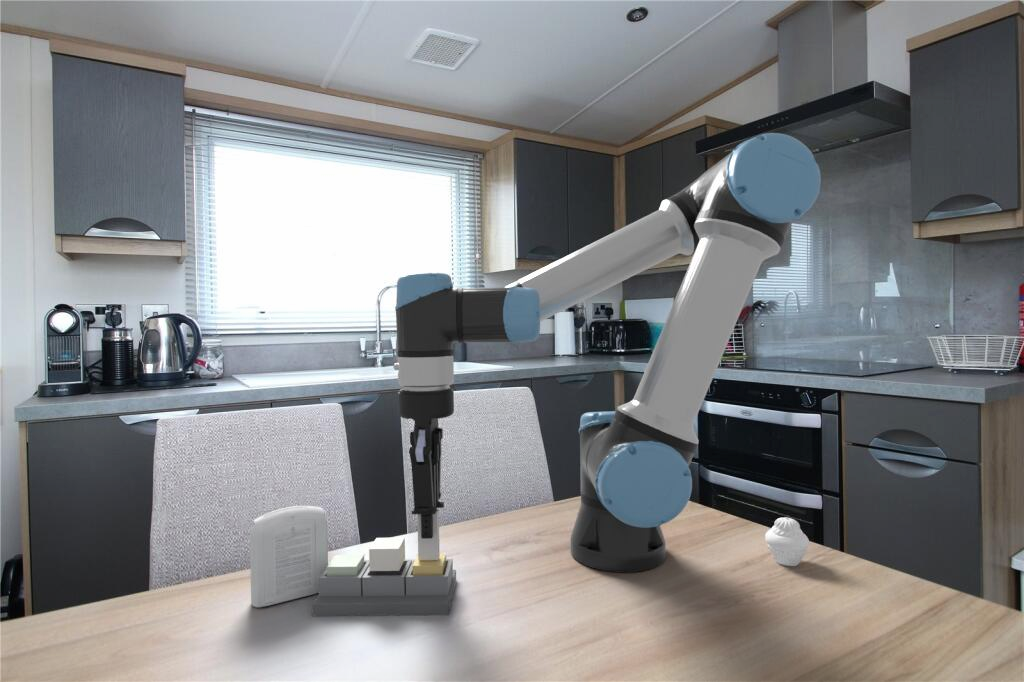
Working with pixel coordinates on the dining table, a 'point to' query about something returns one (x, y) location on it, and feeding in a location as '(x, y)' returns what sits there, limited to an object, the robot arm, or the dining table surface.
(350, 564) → the key sage
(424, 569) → the key ochre
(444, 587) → the keypad
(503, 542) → the dining table surface
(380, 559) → the key ivory
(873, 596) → the dining table surface
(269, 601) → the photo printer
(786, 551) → the muffin
